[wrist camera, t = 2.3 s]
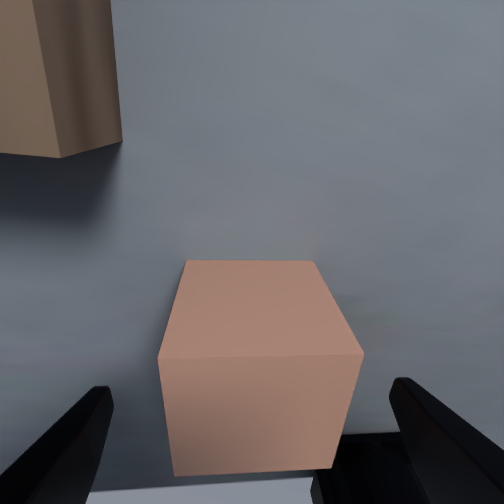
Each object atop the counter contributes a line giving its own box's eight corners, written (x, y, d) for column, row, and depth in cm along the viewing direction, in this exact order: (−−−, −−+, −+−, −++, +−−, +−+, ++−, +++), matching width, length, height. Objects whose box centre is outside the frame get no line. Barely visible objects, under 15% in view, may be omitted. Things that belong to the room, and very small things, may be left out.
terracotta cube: (312, 259, 12) (364, 353, 7) (298, 351, 14) (331, 468, 9) (186, 259, 11) (157, 358, 7) (192, 354, 13) (173, 477, 9)
